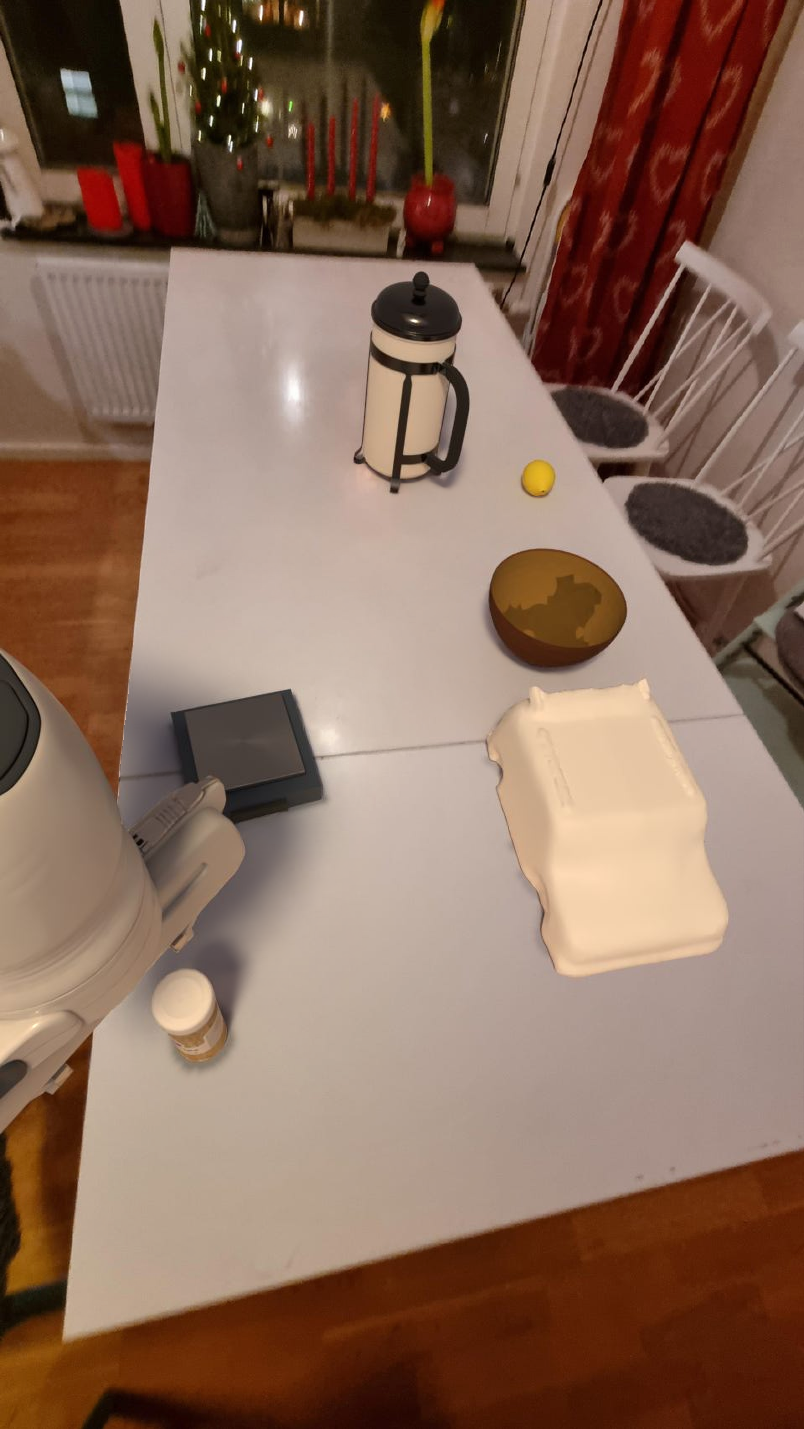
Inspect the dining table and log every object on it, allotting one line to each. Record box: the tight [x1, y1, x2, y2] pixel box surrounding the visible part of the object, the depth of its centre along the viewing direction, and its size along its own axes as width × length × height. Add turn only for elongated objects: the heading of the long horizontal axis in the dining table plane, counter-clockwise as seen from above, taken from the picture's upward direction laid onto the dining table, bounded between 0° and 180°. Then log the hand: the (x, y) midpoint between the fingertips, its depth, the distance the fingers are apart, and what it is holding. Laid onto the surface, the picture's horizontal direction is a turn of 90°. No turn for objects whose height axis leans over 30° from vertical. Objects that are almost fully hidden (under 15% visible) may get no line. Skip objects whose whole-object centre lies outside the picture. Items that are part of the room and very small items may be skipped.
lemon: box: [521, 459, 556, 497], centre depth 115 cm, size 7×5×5 cm
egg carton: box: [486, 675, 730, 979], centre depth 74 cm, size 19×30×13 cm, turn 11°
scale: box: [170, 688, 323, 825], centre depth 79 cm, size 14×15×3 cm
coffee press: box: [353, 270, 471, 494], centre depth 104 cm, size 17×16×30 cm
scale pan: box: [185, 693, 305, 793], centre depth 77 cm, size 11×11×1 cm
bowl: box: [488, 548, 628, 669], centre depth 92 cm, size 18×18×10 cm
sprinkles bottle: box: [150, 968, 228, 1063], centre depth 58 cm, size 5×5×14 cm
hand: (118, 1001), depth 42 cm, fingers open, 8 cm apart
